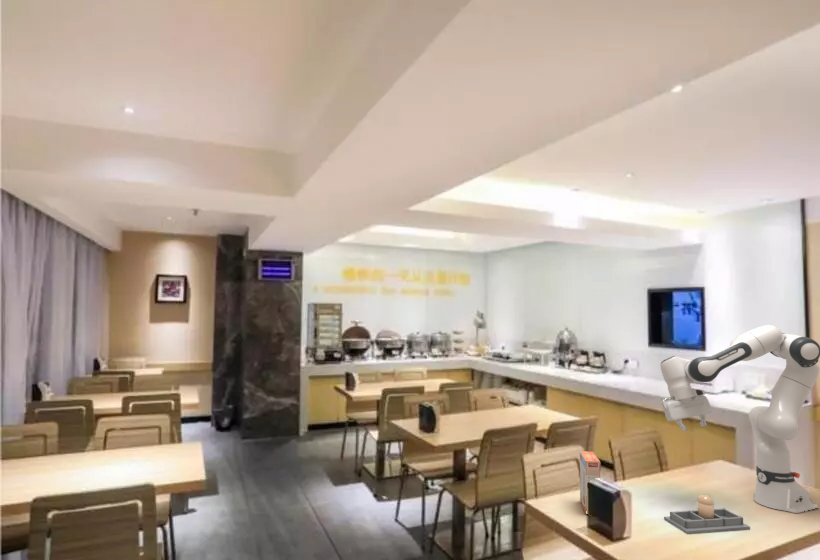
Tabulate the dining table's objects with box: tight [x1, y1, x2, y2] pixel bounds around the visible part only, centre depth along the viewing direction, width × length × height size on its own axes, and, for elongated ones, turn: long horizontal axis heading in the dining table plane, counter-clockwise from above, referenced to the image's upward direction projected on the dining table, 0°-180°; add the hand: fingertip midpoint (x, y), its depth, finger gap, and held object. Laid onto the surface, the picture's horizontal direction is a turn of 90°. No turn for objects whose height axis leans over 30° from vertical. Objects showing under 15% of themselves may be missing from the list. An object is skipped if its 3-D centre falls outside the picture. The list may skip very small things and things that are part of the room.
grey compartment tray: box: [663, 508, 751, 535], centre depth 177 cm, size 26×12×4 cm, turn 99°
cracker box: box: [579, 450, 601, 513], centre depth 191 cm, size 14×6×21 cm, turn 168°
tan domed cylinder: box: [697, 494, 715, 519], centre depth 177 cm, size 5×5×10 cm
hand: (694, 428), depth 197 cm, fingers open, 8 cm apart
